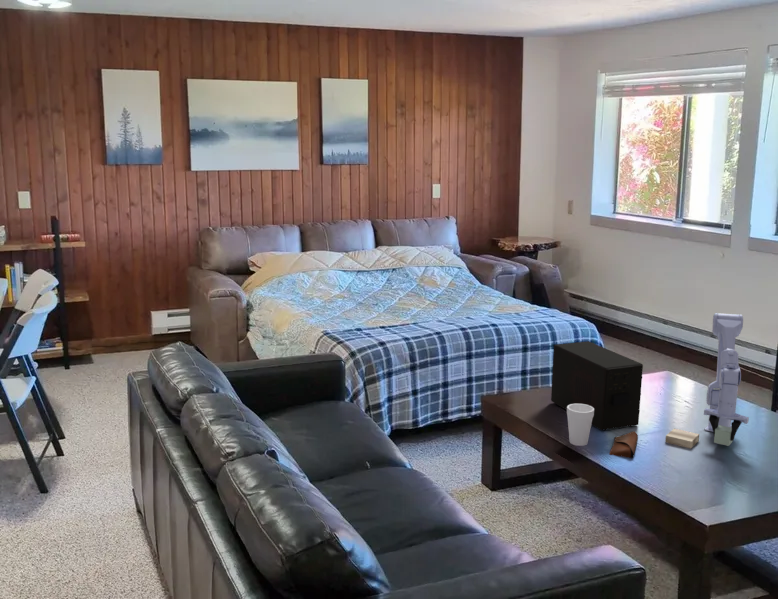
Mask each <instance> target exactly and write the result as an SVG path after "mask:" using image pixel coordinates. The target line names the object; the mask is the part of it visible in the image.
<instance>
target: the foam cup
mask: <svg viewBox="0 0 778 599" xmlns="http://www.w3.org/2000/svg"><path fill="white" fill-rule="evenodd" d="M566 415H567V426H568V427H567V428H568V438H569V439H568V440H569V443H570V444H571V445H573V446H577V447H579V446H580V447H583V446H587V445H588V443H589V438H590V433H591V427H592V425H591V424H592V419H593V417H594V408H593V407H592V406H589V405H586V404H570V405H568V406H567V410H566Z"/></svg>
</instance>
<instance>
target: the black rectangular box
mask: <svg viewBox="0 0 778 599" xmlns="http://www.w3.org/2000/svg"><path fill="white" fill-rule="evenodd" d="M643 368H644V364H643V363H642V362H639V361H636V360H634V359H632V358H628V357H627V356H624V355H622V354H620V353H617V352H614V351H613V350H610V349H608V348H606V347H603V346H601V345H598V344H596V343H594V342H591V341H579V342H569V343H566V342H565V343H558V344H553V358H552V376H551V392H550V394H551V396H550V401H551V402H552V403H553V404H555V405H557V406H558V407H560V408H563V409H564V410H566V411H567V406H568V405H570V404H586V405H589V406H592V407H593V408H594V417H593V419H592V424H591V426H593V427H595V428H597V429H598V430H600V431H607V430H613V429H614V430H615V429H619V428H626V427H629V428H630V427H631V428H632V427H634V426H639V422H640V421H639V420H640V411H641V408H640V406H641V395H642V382H643Z"/></svg>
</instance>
